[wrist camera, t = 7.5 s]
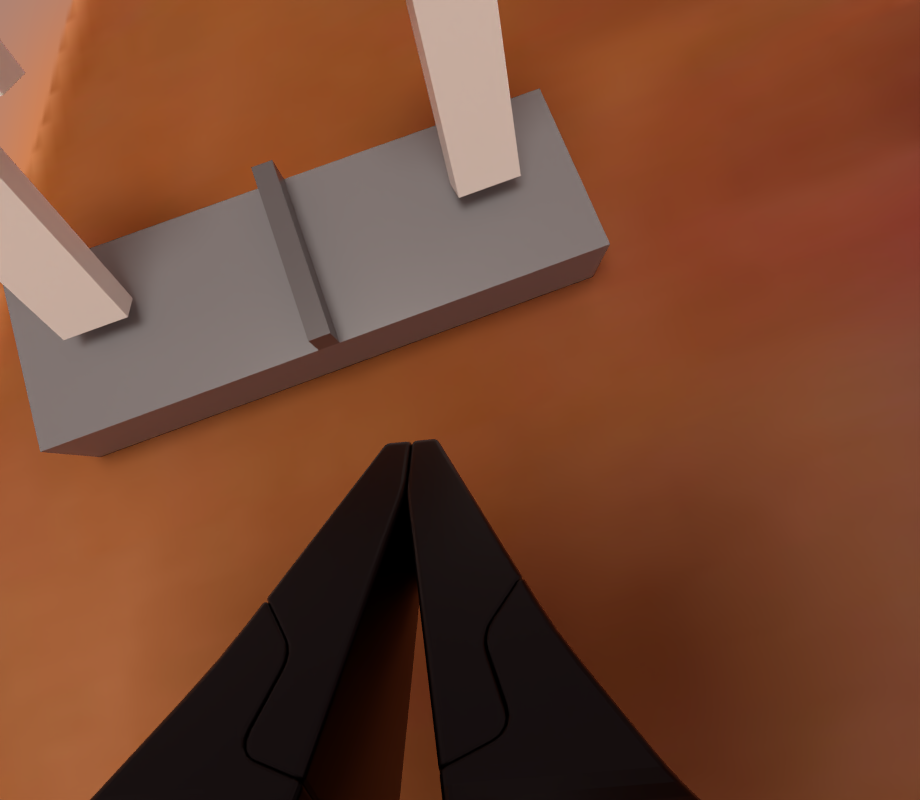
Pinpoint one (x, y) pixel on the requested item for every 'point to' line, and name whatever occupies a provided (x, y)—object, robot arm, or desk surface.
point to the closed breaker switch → (50, 251)
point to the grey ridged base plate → (306, 283)
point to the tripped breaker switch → (467, 89)
